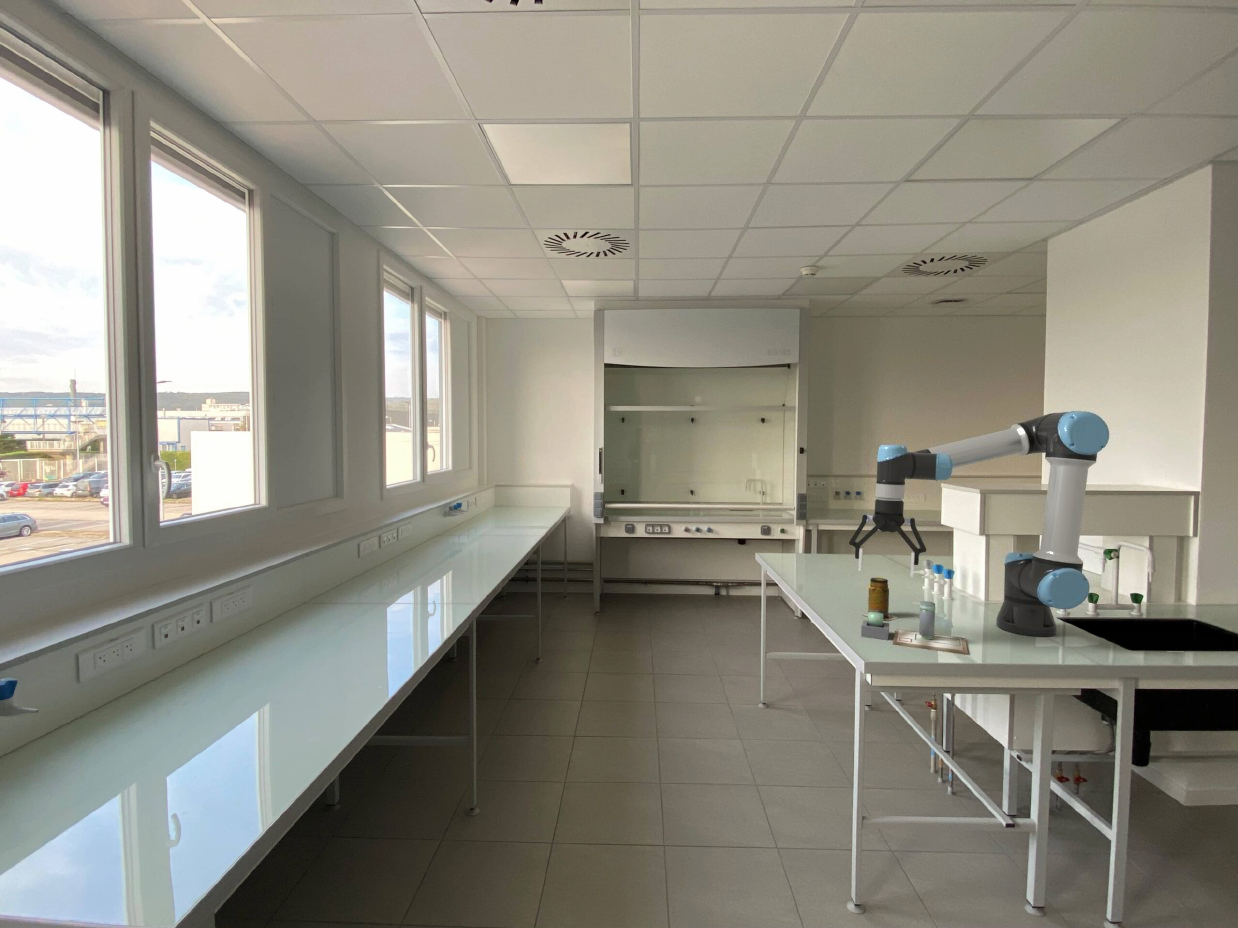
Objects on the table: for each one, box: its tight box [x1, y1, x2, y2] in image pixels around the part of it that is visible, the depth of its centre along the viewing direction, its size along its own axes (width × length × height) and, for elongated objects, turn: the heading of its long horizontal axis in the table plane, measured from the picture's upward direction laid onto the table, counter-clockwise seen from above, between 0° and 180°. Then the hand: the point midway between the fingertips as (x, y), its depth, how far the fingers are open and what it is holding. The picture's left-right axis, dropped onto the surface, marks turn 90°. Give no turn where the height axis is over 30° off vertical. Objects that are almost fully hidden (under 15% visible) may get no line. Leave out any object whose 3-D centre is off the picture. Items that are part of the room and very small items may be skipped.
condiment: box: [863, 577, 899, 621], centre depth 203 cm, size 7×8×12 cm
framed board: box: [892, 628, 968, 656], centre depth 177 cm, size 18×14×1 cm
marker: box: [918, 600, 936, 640], centre depth 178 cm, size 4×4×10 cm
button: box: [867, 612, 884, 626], centre depth 183 cm, size 4×4×3 cm
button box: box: [860, 619, 890, 641], centre depth 183 cm, size 7×7×3 cm
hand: (885, 573), depth 181 cm, fingers open, 13 cm apart
